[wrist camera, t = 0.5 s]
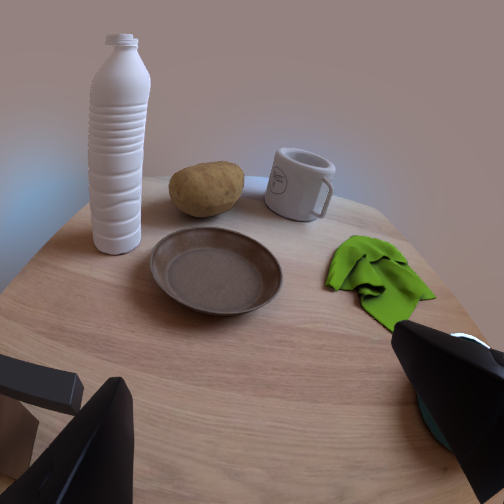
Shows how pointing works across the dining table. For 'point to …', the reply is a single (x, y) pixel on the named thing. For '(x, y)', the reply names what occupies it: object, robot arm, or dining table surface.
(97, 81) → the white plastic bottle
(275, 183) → the mug
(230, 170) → the potato
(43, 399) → the ladle
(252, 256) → the saucer
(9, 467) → the brown rectangular block
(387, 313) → the cloth
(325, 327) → the dining table surface
